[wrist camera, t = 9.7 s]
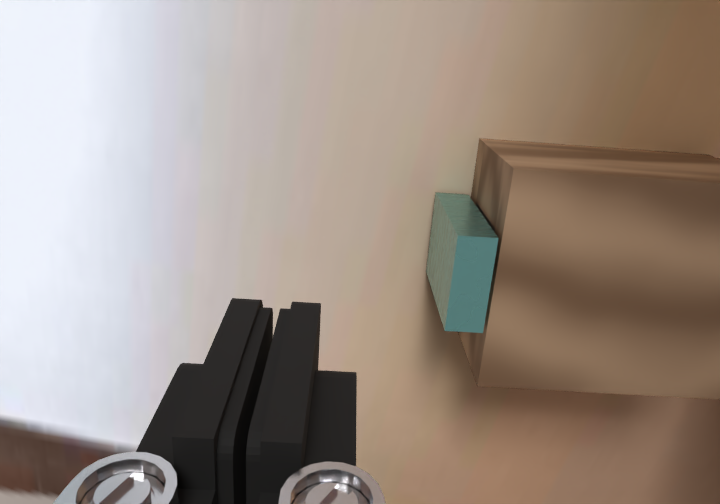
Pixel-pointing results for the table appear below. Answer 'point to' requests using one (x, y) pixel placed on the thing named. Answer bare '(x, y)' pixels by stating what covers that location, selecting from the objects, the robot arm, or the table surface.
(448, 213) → the peg
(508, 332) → the block
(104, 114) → the table surface
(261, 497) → the robot arm
